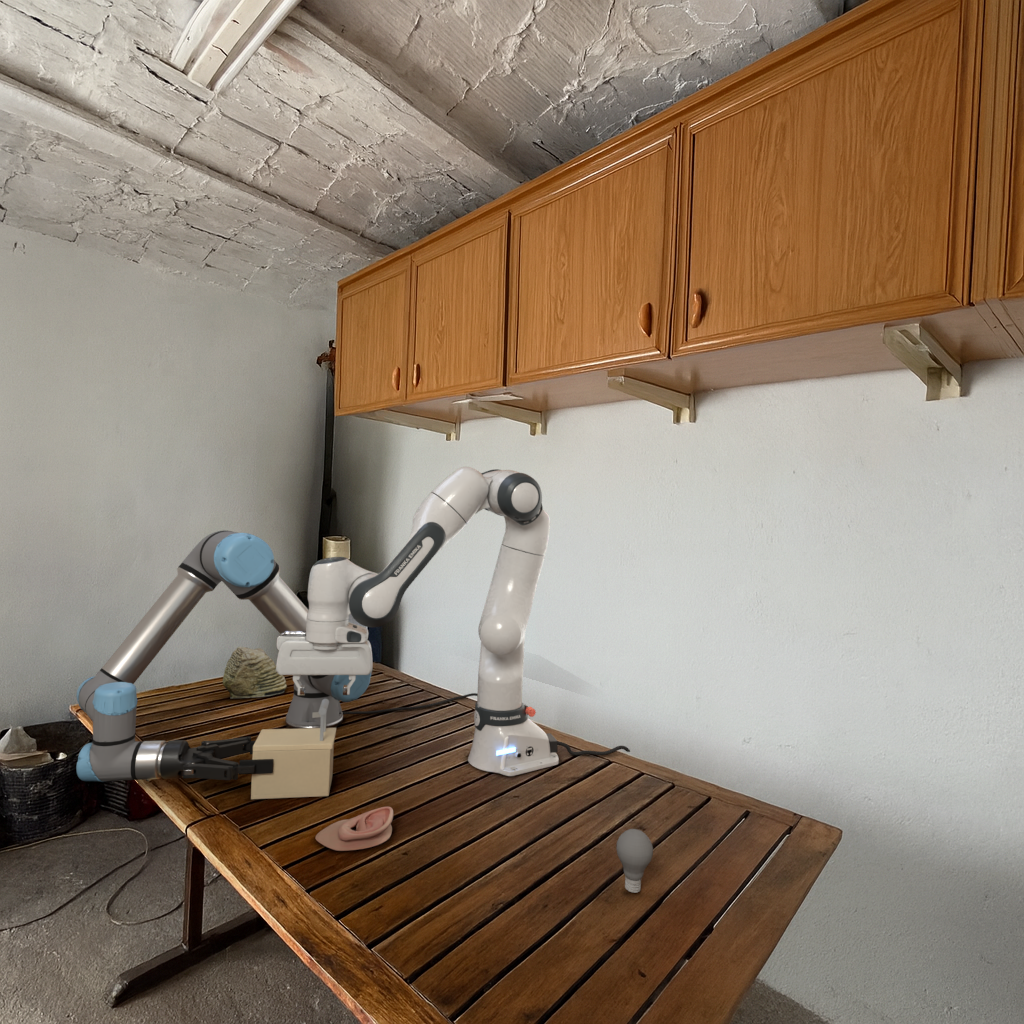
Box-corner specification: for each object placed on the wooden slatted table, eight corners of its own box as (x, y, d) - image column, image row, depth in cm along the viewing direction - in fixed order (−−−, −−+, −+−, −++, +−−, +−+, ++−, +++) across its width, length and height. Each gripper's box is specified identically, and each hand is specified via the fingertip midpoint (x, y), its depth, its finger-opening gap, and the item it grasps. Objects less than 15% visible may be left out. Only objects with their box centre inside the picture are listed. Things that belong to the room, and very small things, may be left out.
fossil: (218, 695, 195) (220, 647, 195) (278, 685, 208) (279, 640, 207) (228, 703, 189) (230, 653, 188) (289, 692, 201) (290, 645, 201)
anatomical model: (307, 824, 115) (337, 795, 126) (306, 846, 115) (336, 815, 126) (376, 835, 112) (400, 805, 123) (375, 857, 112) (399, 825, 123)
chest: (332, 776, 144) (334, 732, 143) (328, 796, 134) (330, 749, 134) (259, 779, 141) (261, 734, 140) (250, 799, 131) (252, 751, 131)
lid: (336, 732, 144) (337, 696, 143) (332, 749, 134) (334, 710, 134) (261, 734, 140) (263, 697, 140) (252, 751, 131) (254, 711, 131)
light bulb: (610, 879, 108) (613, 822, 108) (644, 879, 109) (647, 822, 109) (619, 902, 102) (622, 840, 102) (655, 901, 103) (658, 840, 103)
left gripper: (181, 756, 143) (284, 752, 148) (143, 802, 121) (266, 797, 126) (182, 723, 143) (285, 720, 147) (145, 764, 121) (268, 759, 126)
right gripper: (274, 633, 133) (271, 699, 133) (374, 635, 137) (370, 698, 137) (279, 627, 139) (276, 690, 139) (374, 629, 143) (371, 689, 143)
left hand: (277, 756), depth 137 cm, fingers closed on chest, 10 cm apart
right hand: (324, 694), depth 138 cm, fingers open, 8 cm apart
